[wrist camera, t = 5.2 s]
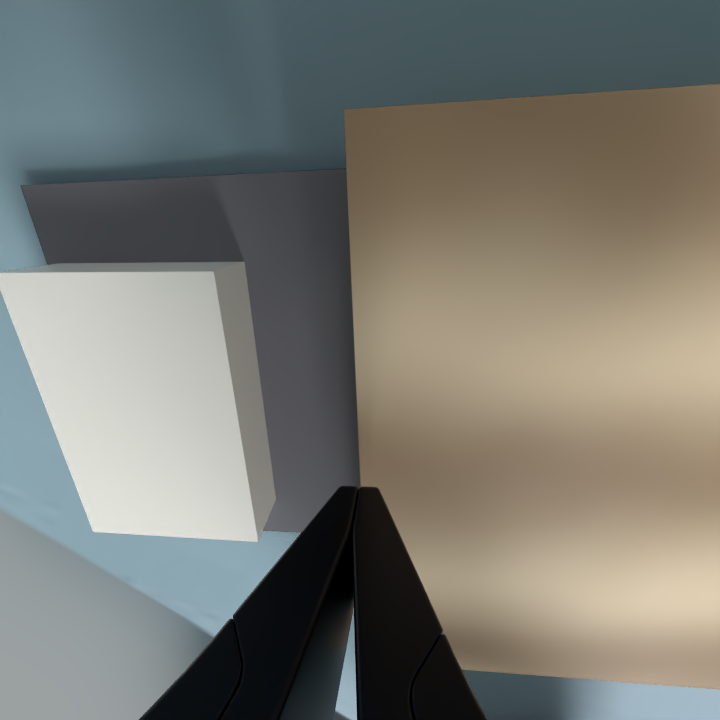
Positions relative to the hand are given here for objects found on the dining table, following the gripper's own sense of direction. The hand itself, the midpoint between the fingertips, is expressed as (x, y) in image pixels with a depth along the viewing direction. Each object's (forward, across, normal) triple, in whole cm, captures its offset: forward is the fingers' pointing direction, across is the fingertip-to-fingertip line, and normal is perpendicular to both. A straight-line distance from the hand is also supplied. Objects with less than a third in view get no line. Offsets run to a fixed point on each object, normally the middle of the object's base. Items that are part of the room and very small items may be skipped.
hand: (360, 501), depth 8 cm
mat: (+5, +5, 0) cm, 7 cm away
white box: (+3, +7, 0) cm, 7 cm away
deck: (+5, -7, 0) cm, 9 cm away
